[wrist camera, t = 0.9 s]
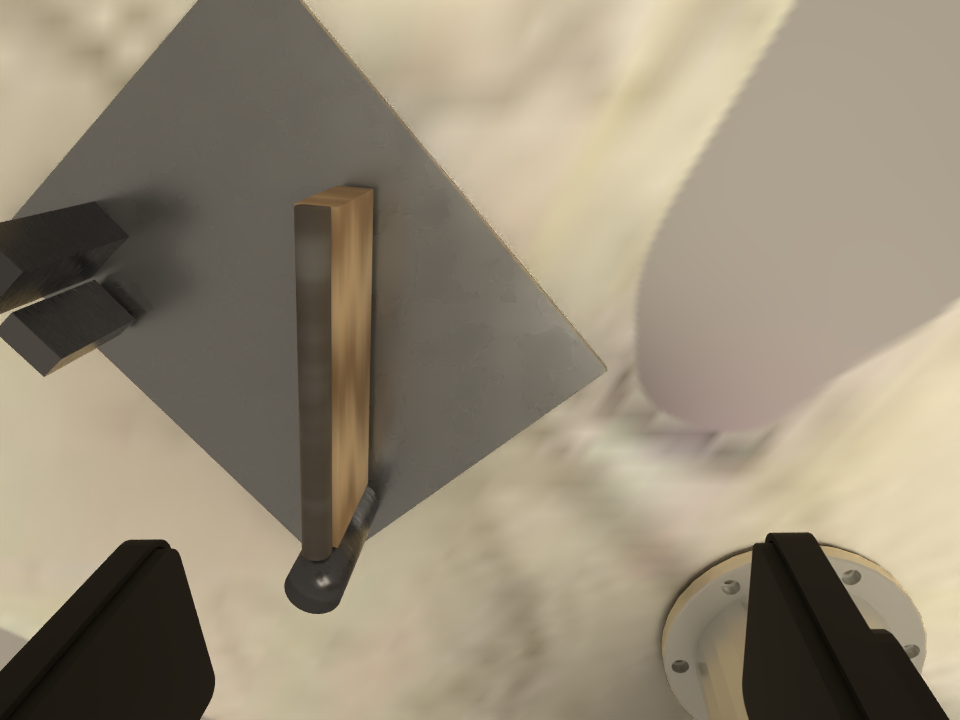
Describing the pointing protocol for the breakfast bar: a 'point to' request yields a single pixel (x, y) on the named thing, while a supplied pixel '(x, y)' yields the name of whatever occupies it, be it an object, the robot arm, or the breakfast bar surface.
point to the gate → (333, 359)
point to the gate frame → (281, 271)
